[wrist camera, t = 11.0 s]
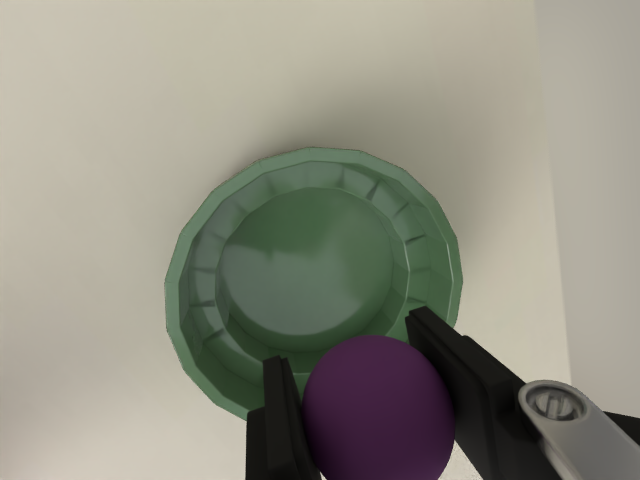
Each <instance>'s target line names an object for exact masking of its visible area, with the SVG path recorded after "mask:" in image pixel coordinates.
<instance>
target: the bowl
mask: <svg viewBox="0 0 640 480" xmlns="http://www.w3.org/2000/svg"><path fill="white" fill-rule="evenodd" d="M164 284H165V309H166V328H167V332H168V335H169V337H170V339H171V342H172V344H173V346H174V349H175V351H176V353H177V356H178V358H179V361H180V363H181V365H182V368H183V370H184V371H185V373H186V374H187V375H188V376H189V377H190V378H191V379H192V380H193V382H194V383H195V384H196V385H197V386H198V387H199V388H200V389H201V390H202V391H203V392H204V393H205V394H206V395H207V397H208V398H209V399H210V400H211V401H212V402H213V403H215V404H216V405H217V406H219V407H221V408H223V409H225V410H226V411H228V412H230V413H232V414H234V415H236V416H238V417H240V418H241V419H243V420H245V421H247V413H248V412H249V411H252V410H255V409H257V408H260V407H263V406H265V402H264V382H263V360H265V359H268V358H271V357H274V356H277V355H280V357H281V359H282V358H285V357H287V358H288V361H289V364H290V367H291V370H292V373H293V376H294V379H295V382H296V385H297V388H298V391H299V394H300V398H301V401H302V398H303V393H304V389H305V386H306V383H307V380H308V378H309V376H310V374H311V372H312V370H313V369H314V367H315V366H316V364H317V363H318V361H319V360H320V359H321V358H322V357H323V356H324V355H325V354H326V353H327V352H328V351H329V350H330V349H332V348H333V347H335V346H336V345H338V344H339V343H341V342H343V341H345V340H348V339H350V338H354V337H357V336H363V335H381V336H388V337H392V338H395V339H398V340H400V341H403V342H405V343H407V344H409V339H408V334H407V329H406V324H405V317H406V316H409V311H410V310H413V309H416V308H419V307H422V306H427V307H428V308H429V309H431V310H432V311H433V312H434V313H435V314H436V315H438V316H439V317H440V318H441V319H442V320H444V321H445V322H446V323H447V324H448V325H449V326H451V327H452V328H454V325H455V323H456V320H457V316H458V310H459V304H460V297H461V291H462V285H463V275H462V269H461V262H460V255H459V249H458V242H457V237H456V235H455V233H454V232H453V230H452V228H451V226H450V224H449V222H448V220H447V218H446V216H445V214H444V212H443V210H442V208H441V206H440V204H439V202H438V201H437V200H436V199H435V198H434V197H433V196H432V195H431V194H430V193H429V192H428V191H427V190H426V189H425V188H424V187H423V186H422V185H421V184H419V183H418V182H417V181H416V180H415V179H414V178H413V177H412V176H411V175H410V174H409V173H408V172H407V171H406V170H404V169H402V168H400V167H398V166H396V165H393V164H391V163H389V162H386V161H384V160H382V159H379V158H377V157H375V156H372V155H370V154H368V153H366V152H363V151H360V150H349V149H335V148H321V147H306V148H302V149H297V150H293V151H290V152H286V153H282V154H278V155H275V156H271V157H267V158H263V159H259V160H258V161H255V162H253V163H252V164H250V165H249V166H247V167H246V168H244V169H243V170H241V171H240V172H238V173H237V174H235V175H234V176H232V177H231V178H229V179H228V180H226V181H225V182H223V183H222V184H221V185H219V186H218V187H217V188H215V189H214V190H213V191H212V192H211V193H210V194H209V196H208V197H207V198H206V200H205V201H204V202H203V204H202V205H201V206H200V207H199V209H198V210H197V211H196V213H195V214H194V215H193V217H192V218H191V219H190V220H189V222H188V223H187V224H186V226H185V227H184V228H183V230H182V231H181V233H180V235H179V238H178V241H177V244H176V247H175V250H174V253H173V256H172V259H171V262H170V265H169V269H168V272H167V275H166V278H165V282H164ZM409 345H410V344H409Z"/></svg>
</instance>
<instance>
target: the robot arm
mask: <svg viewBox="0 0 640 480" xmlns="http://www.w3.org/2000/svg"><path fill="white" fill-rule="evenodd" d="M405 324H406V329H407V334H408V339H409V344H410V346H412V347H414V348H415V349H417V350H418V351H419V352H420V353H422V354H423V355H424V356H425V357H426V358H427V359H428V360H429V361H430V362H431V363H432V364H433V365H434V367H435V368H436V369H437V371H438V372H439V374H440V375H441V377H442V379H443V380H444V382H445V384H446V386H447V389H448V391H449V394H450V397H451V400H452V404H453V408H454V415H455V441H456V442H457V443H458V445H459V446H460V448H461V449H462V450H463V452H464V453H465V455H466V456H467V457H468V459H469V460H470V462H471V463H472V464H473V466H474V467H475V469H476V470H477V471H478V473H479V474H480V476H481V477H482V478H483V480H640V418H635V417H631V416H625V415H620V414H615V413H610V412H605V411H602V410H601V409H599V408H598V407H597V406H596V405H595V404H594V403H593V402H592V401H591V400H590V399H589V398H588V397H586V395H584V394H583V393H582V392H580V391H579V390H578V389H576V388H574V387H572V386H570V385H568V384H565V383H562V382H558V381H553V380H537V381H532V382H530V383H527V384H526V383H525V382H524V381H522V380H521V379H520V378H519V377H518V376H516V375H515V374H514V373H513V372H512V371H510V370H509V369H508V368H507V367H506V366H504V365H503V364H502V363H501V362H499V361H498V360H497V359H496V358H495V357H493V356H492V355H491V354H490V353H489V352H487V351H486V350H485V349H484V348H482V347H481V346H480V345H479V344H478V343H476V342H475V341H474V340H473V339H472V338H470V337H469V336H466V335H464V336H461V335H460V334H459V333H458V332H456V331H455V330H454V329H453V328H452V327H451V326H449V325H448V324H447V323H446V322H445V321H444V320H442V319H441V318H440V317H439V316H438V315H436V314H435V313H434V312H433V311H432V310H431V309H429V308H428V307H427V306H422V307H419V308H416V309H413V310H410V311H409V316H406V317H405ZM263 382H264V402H265V406H263V407H260V408H257V409H255V410H252V411H249V412H248V413H247V430H246V478H245V480H322V479H321V474H320V471H319V469H318V468H317V466H316V465H315V463H314V461H313V458H312V456H311V452H310V449H309V446H308V442H307V438H306V435H305V431H304V427H303V422H302V417H301V407H302V401H301V398H300V394H299V391H298V388H297V385H296V382H295V379H294V376H293V373H292V370H291V367H290V364H289V361H288V358H287V357H285V358H282V359H281V357H280V355H277V356H274V357H271V358H268V359H265V360H263Z"/></svg>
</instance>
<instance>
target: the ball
mask: <svg viewBox="0 0 640 480" xmlns="http://www.w3.org/2000/svg"><path fill="white" fill-rule="evenodd" d="M301 417H302V422H303V427H304V431H305V435H306V438H307V442H308V446H309V449H310V452H311V456H312V458H313V461H314V463H315V465H316V466H317V468H318V469H319V471H320V472H321V473H322V475H323V476H324V477H325V478H326V479H327V480H438V478H439V477H440V476H441V474H442V472H443V471H444V469H445V467H446V466H447V463H448V461H449V459H450V456H451V453H452V449H453V445H454V439H455V415H454V408H453V404H452V400H451V397H450V394H449V391H448V389H447V386H446V384H445V382H444V380H443V379H442V377H441V375H440V374H439V372H438V371H437V369H436V368H435V367H434V365H433V364H432V363H431V362H430V361H429V360H428V359H427V358H426V357H425V356H424V355H423V354H422V353H420V352H419V351H418V350H417V349H415V348H414V347H412V346H410V345H409V344H407V343H405V342H403V341H400V340H398V339H395V338H392V337H388V336H381V335H363V336H357V337H354V338H350V339H348V340H345V341H343V342H341V343H339V344H338V345H336V346H335V347H333V348H332V349H330V350H329V351H328V352H327V353H326V354H325V355H324V356H323V357H322V358H321V359H320V360H319V361H318V363H317V364H316V366H315V367H314V369H313V370H312V372H311V374H310V376H309V378H308V380H307V383H306V386H305V389H304V393H303V398H302V407H301Z"/></svg>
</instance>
